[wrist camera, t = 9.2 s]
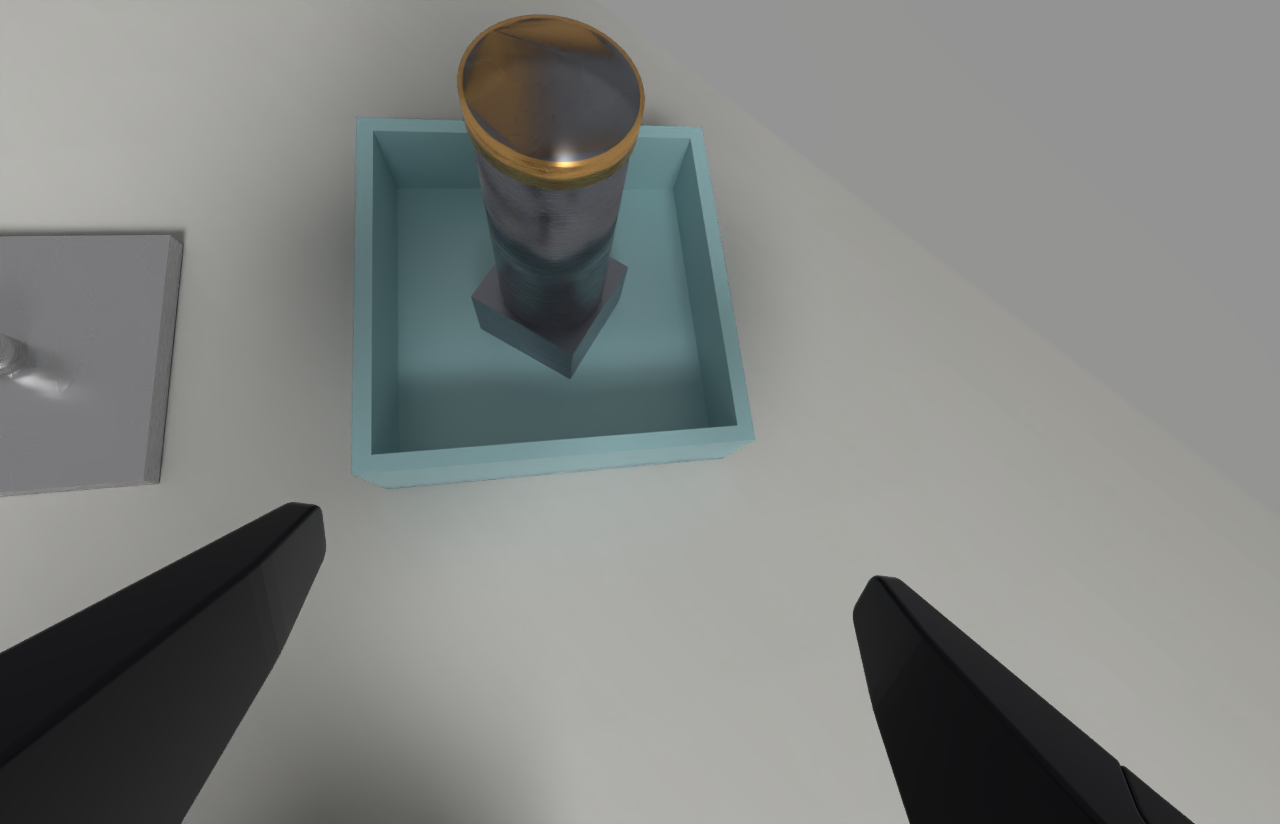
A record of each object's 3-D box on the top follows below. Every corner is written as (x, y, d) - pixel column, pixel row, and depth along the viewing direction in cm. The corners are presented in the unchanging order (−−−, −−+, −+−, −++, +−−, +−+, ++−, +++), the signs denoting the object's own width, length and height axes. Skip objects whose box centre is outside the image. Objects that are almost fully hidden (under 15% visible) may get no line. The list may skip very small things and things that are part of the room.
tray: (722, 458, 24) (755, 439, 20) (387, 489, 21) (351, 474, 17) (680, 187, 27) (701, 127, 23) (386, 185, 25) (356, 117, 21)
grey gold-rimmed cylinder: (570, 379, 23) (589, 204, 11) (480, 328, 23) (411, 101, 11) (619, 301, 24) (680, 74, 13) (534, 253, 24) (520, -19, 13)
